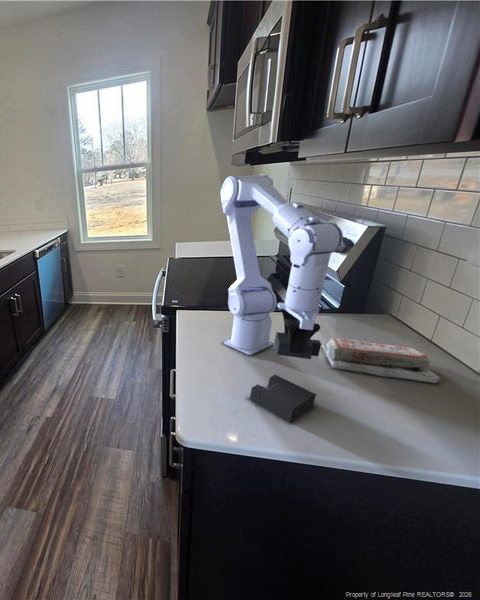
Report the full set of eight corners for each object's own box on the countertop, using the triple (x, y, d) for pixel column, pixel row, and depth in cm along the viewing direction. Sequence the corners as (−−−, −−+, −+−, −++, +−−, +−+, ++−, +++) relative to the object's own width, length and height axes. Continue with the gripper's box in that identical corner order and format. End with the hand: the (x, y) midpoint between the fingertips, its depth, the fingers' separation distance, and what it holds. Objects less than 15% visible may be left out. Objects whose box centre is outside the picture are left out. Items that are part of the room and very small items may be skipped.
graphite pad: (274, 343, 72) (276, 331, 71) (314, 348, 69) (317, 336, 68) (277, 354, 67) (279, 342, 66) (320, 360, 64) (323, 347, 63)
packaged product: (336, 350, 71) (325, 331, 80) (331, 369, 73) (321, 348, 81) (446, 365, 64) (421, 342, 72) (438, 385, 66) (415, 360, 74)
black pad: (272, 386, 69) (275, 374, 68) (313, 406, 62) (316, 394, 61) (249, 399, 65) (251, 387, 64) (289, 422, 59) (292, 409, 57)
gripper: (277, 273, 71) (267, 328, 76) (287, 296, 58) (275, 359, 63) (315, 275, 68) (303, 332, 73) (334, 299, 56) (318, 365, 60)
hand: (292, 345), depth 68 cm, fingers closed on graphite pad, 5 cm apart
